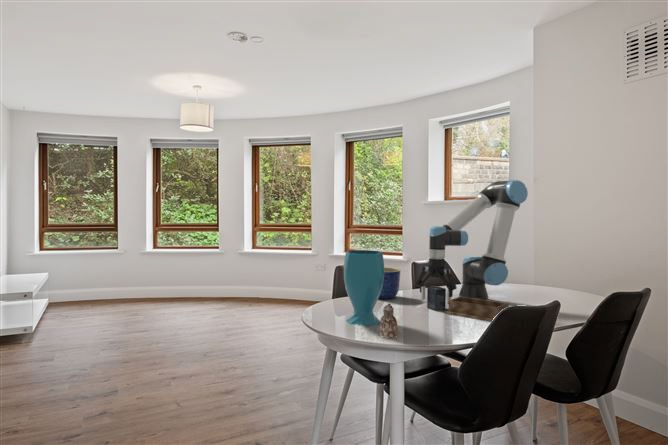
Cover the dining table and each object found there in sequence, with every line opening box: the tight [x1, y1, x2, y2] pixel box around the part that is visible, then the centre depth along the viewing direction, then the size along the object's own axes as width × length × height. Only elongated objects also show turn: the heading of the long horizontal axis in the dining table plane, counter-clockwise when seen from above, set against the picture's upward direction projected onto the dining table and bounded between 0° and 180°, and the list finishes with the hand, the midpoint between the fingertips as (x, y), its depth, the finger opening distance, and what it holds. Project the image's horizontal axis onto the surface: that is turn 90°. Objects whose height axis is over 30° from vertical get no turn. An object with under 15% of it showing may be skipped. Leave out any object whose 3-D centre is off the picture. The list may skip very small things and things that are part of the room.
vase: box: [343, 249, 385, 326], centre depth 194 cm, size 17×17×30 cm
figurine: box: [378, 303, 399, 338], centre depth 173 cm, size 7×7×12 cm
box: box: [426, 285, 447, 312], centre depth 218 cm, size 8×6×11 cm
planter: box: [378, 266, 401, 300], centre depth 244 cm, size 17×17×15 cm
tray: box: [444, 296, 509, 322], centre depth 207 cm, size 25×16×6 cm, turn 50°
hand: (435, 301), depth 218 cm, fingers open, 13 cm apart
